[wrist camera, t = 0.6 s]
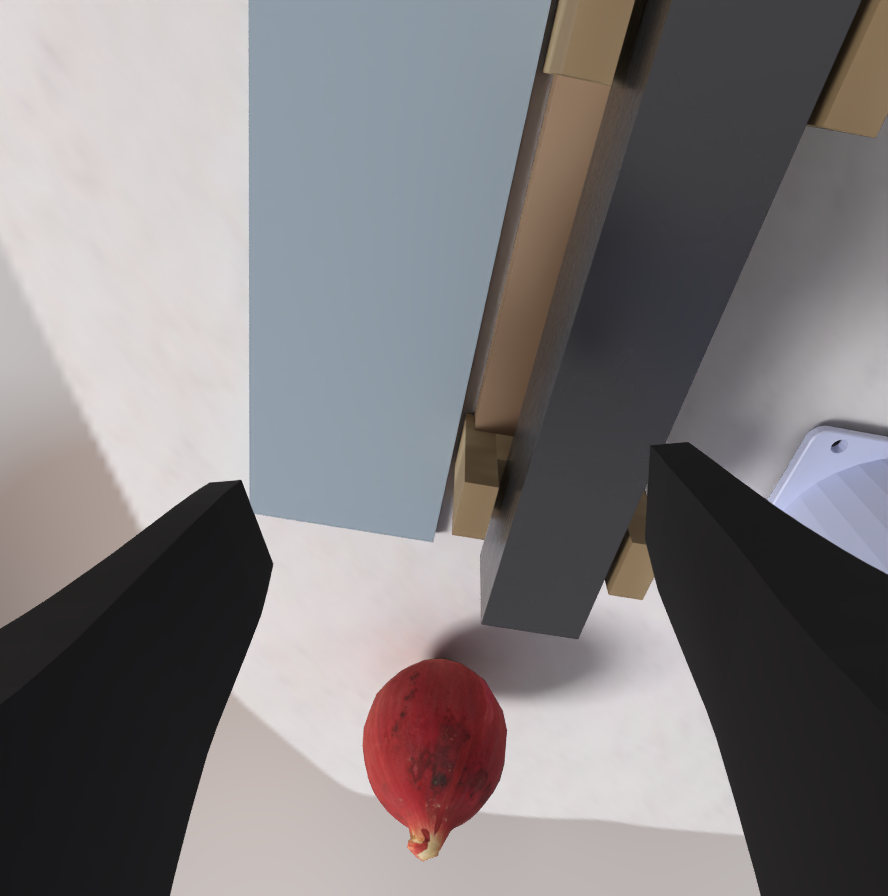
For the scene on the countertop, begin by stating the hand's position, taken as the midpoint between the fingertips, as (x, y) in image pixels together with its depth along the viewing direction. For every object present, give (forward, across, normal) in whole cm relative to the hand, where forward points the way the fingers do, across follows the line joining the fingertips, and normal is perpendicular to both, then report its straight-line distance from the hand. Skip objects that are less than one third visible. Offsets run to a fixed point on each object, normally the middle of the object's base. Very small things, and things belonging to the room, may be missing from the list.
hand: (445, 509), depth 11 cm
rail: (+7, -4, -1) cm, 8 cm away
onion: (+10, +3, +16) cm, 19 cm away
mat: (+9, +2, -3) cm, 10 cm away
